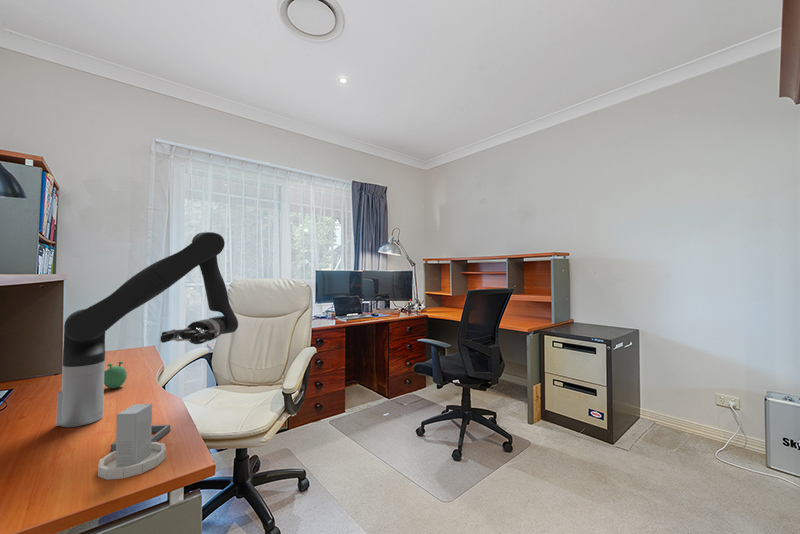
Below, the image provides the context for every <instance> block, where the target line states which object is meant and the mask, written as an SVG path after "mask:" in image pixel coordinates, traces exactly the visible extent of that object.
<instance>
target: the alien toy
mask: <svg viewBox="0 0 800 534" xmlns="http://www.w3.org/2000/svg"><path fill="white" fill-rule="evenodd" d="M117 363H118V364H119V365H113V363H111V362H110V363H108V364H107V366H106V367H109V368H107V369H106V370H105V369H104V387H106V388H108V389H112V390H113V389H118V388H119V387H121V386H122V385H124V383H125V382H126V380H127V371H126V368H124V367H123V366H122V364H124V362H123V361H120V360H119V361H118V362H117ZM112 365H113V366H112Z"/></svg>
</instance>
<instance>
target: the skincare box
mask: <svg viewBox="0 0 800 534" xmlns="http://www.w3.org/2000/svg"><path fill="white" fill-rule="evenodd" d="M152 422H153V404H152V403H137V404H135V403H134V404H132V405H130V406H129V407H128V408H125V409H124V410H122V411H120V412H118V413H117V414H116V427H115V428H116V432H115V433H116V434H115V441H116V467H127V466H130V465H134V464H138V463H140V462H141V461H142V460H143V459H144V458H146V457H147V456H148V455H149V454H150V453H151V437H152V433H153V432H152V425H153V423H152Z"/></svg>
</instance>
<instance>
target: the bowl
mask: <svg viewBox="0 0 800 534" xmlns="http://www.w3.org/2000/svg"><path fill="white" fill-rule="evenodd" d="M166 449H167V448H166V444H165V443H162V442H159V441H157V442H151V453H150V454H149V455H148V456H147V457H146V458H144V459H143V460H142V461H141V462H140V463H138V464H134V465H130V466H127V467H116V451H110V452H109V453H107V454H106V455H105V456H104V457H102V458H101V459H99V461H98V466H97V467H98V468H97V477H99V478H102V479H104V480H120V479H126V478H129V477H130V478H131V477H134V476H137V475H141V474H143V473H146V472H148V471H150V470H151V469H153V468H156V467H157V466H159V465H160V464H161V463H162V462H163V461H165V459H166V455H167V454H166V453H167V452H166Z"/></svg>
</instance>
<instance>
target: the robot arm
mask: <svg viewBox="0 0 800 534" xmlns="http://www.w3.org/2000/svg"><path fill="white" fill-rule="evenodd" d="M225 243H226V242H225V239H224V237H223V236H222V235H221V234H220V233H218V232H215V231H210V230H209V231H202V232H199V233H197V234H195V235H194V236H193V237H192V240H191V243H189V244H188V245H187V246H186V247H184V248H182V249H181V250H180V251H177V252H175V253H174V254H170V255H169V256H166V257H164V258H161V259H159V260H158V261H155V262H153V263H152V264H149V265H148V266H146V268H143V269H142V270H140V271H139V272H137V273H136V274H134V275H133V276H132V277H130V278H129V279H128V280H126V281H125V282H124V283H122V285H120V286H119V287H118V288H117V289H116V290H115V291H114V292H112V293H111V294H110V295H108V296H107V297H105V298H103V299H102V300H100V301H97V302H96V303H94V304H92V305H91V306H89V307H87V308H84V309H83V308H82V309H79V310H78V309H77V310H76V311H74V312H72V313H71V314H70V315H68V316H67V318H66V320H65V321H64V324H63V325H64V326H63V350H62V377H61V378H62V380H61V391H58V393H57V396H56V420H55V421H56V422H55V423H56V424H55V426H56V427H59V426H60V427H62V428H74V427H80V426H81V427H82V426H87V425H89V424H92V423H95V422H97V421H99V420H101V419H102V418H103V416H104V398H105V397H104V394H105V392H104V391H105V385H104V371H105V367H106V366H105V365H106V332H107V331H108V330H110V328H111V327H113V326H114V325H115V324H116V323H118V321H120V320H121V319H122V318H124V317H125V316H126V315H128V314H129V313H130V312H132V311H134V310H136V309H138V308H139V307H141V306H142V305H145V304H146V303H148V302H149V301H151V300H153V299H154V298H156V297H158V296H159V295H161V294H162V293H163V292H165V291H166V290H167V289H170V287H172V286H173V285H175V284H176V283H177V282H178V281H180V280H181V279H182V278H184V277H185V276H186V275H188V274H189V273H190V272H191V271H192V270H193V269H195V268H197V267H198V266H199V269H200V272H201V275H202V278H203V279H202V280H203V284H204V289H205V294H206V300H207V306H208V309H209V311H211V312H216V313H217V312H219V313H220V314H222V315H219V316H218V315H216V316H212V317H208V318H205V319H201V320H197V321H193V322H191V323H190V324H188V326H186V327H185V328H182V329H181V328H179V329H171V330H166V331H162V332H161V335H160V343H167V342H172V341H175V342H182V341H183V342H184V341H185V342H186V341H187V342H189V343H191V344H192V345H202V344H204V343H207V342H211V341H213V340H215V339H217V338H218V337H219V336H220V335H226V334H231V333H234V332H236V331H237V329H238V328H239V320H238V318H237V316H236V314H235V312H234V310H233V308H232V306H231V304H230V301H229V295H228V290H227V286H226V283H225V281H224V278H223V276H222V274H221V270H220V267H219V264H218V255H219V254H221V253H222V251H223V250H224V248H225Z"/></svg>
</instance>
